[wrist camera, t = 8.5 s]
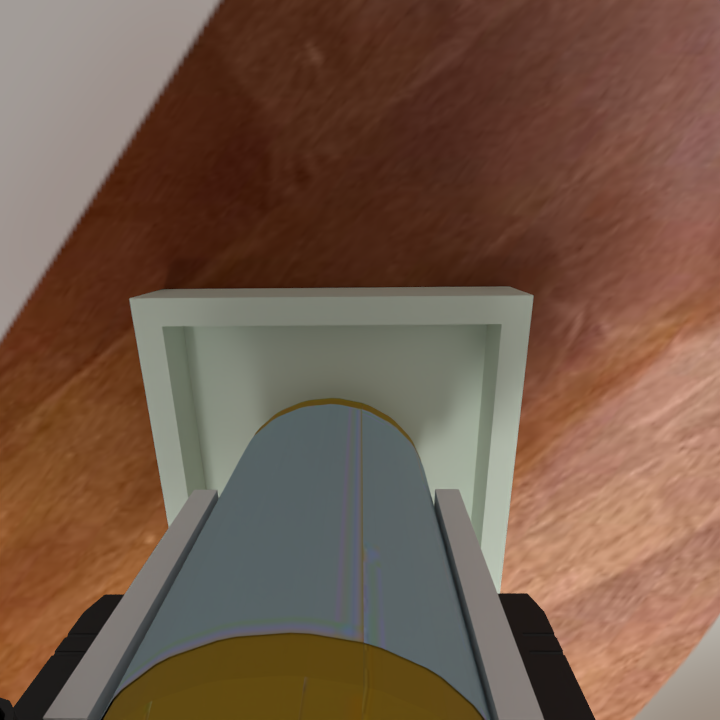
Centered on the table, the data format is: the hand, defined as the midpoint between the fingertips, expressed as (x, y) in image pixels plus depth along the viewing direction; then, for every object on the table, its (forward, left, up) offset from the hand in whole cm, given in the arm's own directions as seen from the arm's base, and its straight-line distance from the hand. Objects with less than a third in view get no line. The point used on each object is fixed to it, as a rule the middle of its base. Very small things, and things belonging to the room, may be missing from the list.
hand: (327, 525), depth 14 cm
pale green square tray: (0, 0, -5) cm, 5 cm away
